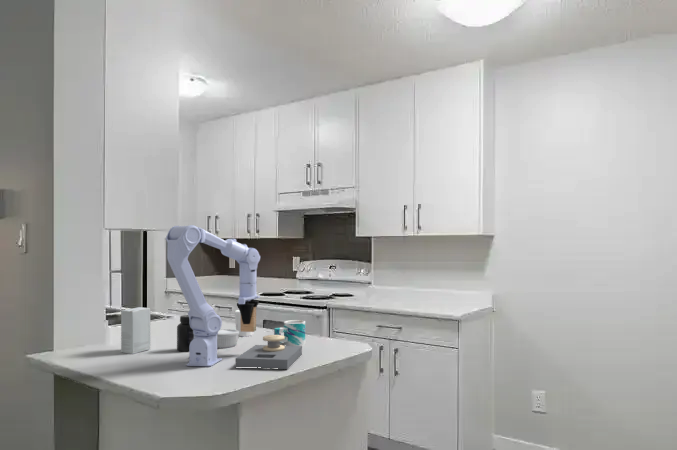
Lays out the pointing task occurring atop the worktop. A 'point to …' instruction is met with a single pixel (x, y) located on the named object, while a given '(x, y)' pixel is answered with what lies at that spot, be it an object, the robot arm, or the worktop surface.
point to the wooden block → (252, 325)
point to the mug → (292, 333)
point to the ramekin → (227, 338)
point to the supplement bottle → (184, 334)
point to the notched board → (270, 354)
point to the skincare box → (135, 330)
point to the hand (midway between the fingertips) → (247, 323)
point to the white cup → (238, 325)
